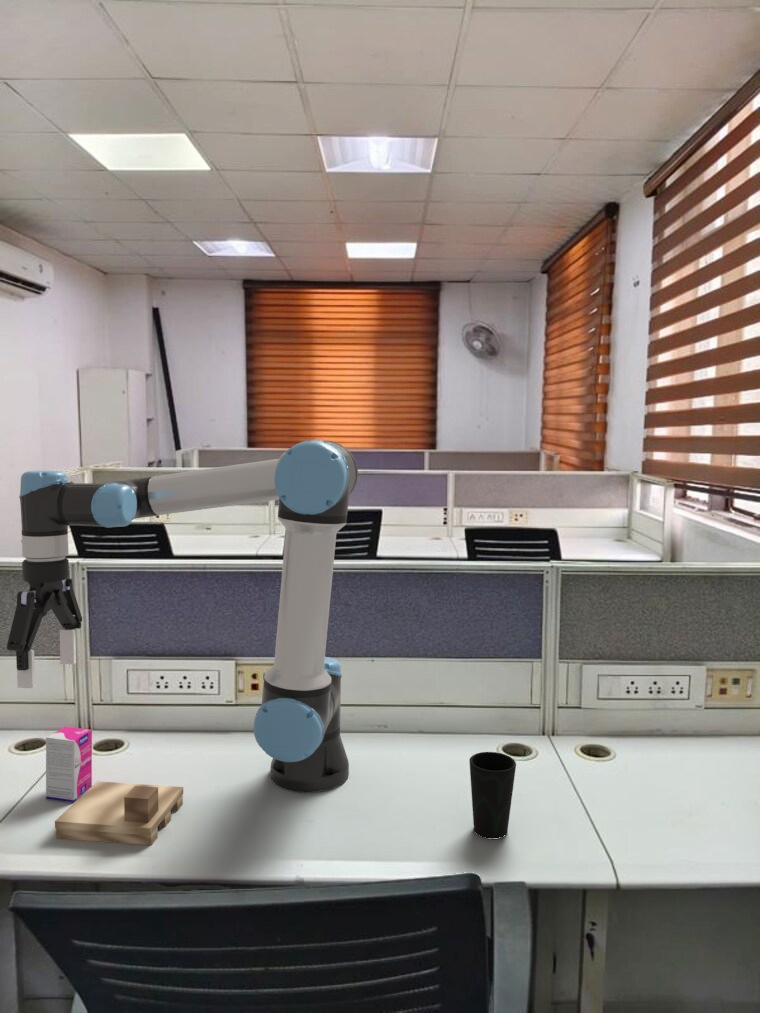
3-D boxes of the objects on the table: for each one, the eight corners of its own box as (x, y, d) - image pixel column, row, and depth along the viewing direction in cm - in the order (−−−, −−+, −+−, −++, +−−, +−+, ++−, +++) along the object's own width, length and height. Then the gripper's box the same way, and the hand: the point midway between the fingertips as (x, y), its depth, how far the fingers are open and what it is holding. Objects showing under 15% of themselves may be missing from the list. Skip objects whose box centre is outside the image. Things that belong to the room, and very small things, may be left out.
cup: (502, 847, 117) (505, 775, 116) (459, 833, 121) (461, 764, 120) (520, 827, 124) (522, 758, 123) (479, 814, 128) (481, 747, 127)
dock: (183, 803, 130) (183, 787, 130) (150, 846, 116) (150, 828, 116) (97, 797, 132) (97, 781, 132) (55, 839, 118) (54, 821, 118)
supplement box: (74, 803, 130) (73, 740, 129) (45, 799, 131) (43, 737, 130) (93, 788, 135) (92, 728, 134) (65, 784, 136) (63, 725, 135)
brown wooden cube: (158, 810, 122) (158, 787, 121) (148, 822, 118) (148, 798, 117) (135, 808, 122) (135, 785, 122) (124, 821, 118) (124, 797, 118)
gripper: (62, 547, 143) (65, 654, 144) (-20, 569, 118) (-16, 697, 120) (99, 548, 142) (101, 655, 144) (24, 570, 117) (27, 700, 119)
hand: (48, 675), depth 132 cm, fingers open, 13 cm apart
